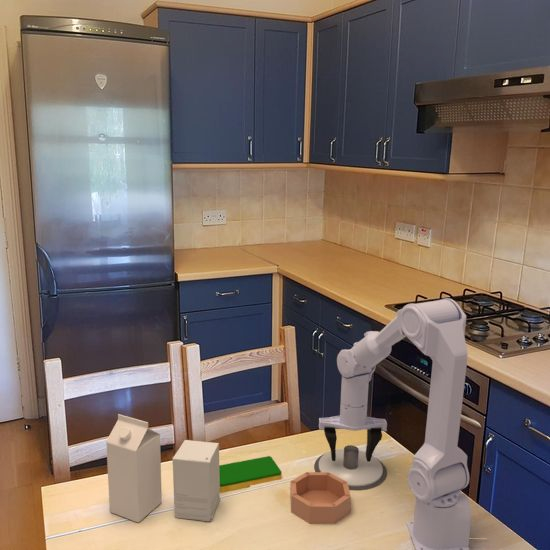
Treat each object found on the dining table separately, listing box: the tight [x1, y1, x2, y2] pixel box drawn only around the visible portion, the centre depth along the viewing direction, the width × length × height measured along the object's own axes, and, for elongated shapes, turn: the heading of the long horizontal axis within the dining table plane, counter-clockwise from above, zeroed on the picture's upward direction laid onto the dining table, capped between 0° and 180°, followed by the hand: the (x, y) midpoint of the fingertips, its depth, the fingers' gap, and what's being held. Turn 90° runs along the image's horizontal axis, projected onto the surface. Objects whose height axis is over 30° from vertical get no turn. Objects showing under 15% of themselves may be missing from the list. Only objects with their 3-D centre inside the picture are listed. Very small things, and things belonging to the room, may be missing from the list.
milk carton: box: [105, 413, 163, 523], centre depth 106 cm, size 7×7×19 cm
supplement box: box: [171, 439, 221, 522], centre depth 107 cm, size 7×7×13 cm
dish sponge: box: [219, 455, 282, 494], centre depth 119 cm, size 7×14×2 cm, turn 111°
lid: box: [319, 444, 383, 487], centre depth 122 cm, size 14×14×5 cm
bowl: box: [289, 471, 352, 525], centre depth 109 cm, size 12×12×4 cm
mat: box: [313, 452, 388, 491], centre depth 123 cm, size 16×16×1 cm
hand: (350, 458), depth 122 cm, fingers open, 7 cm apart
